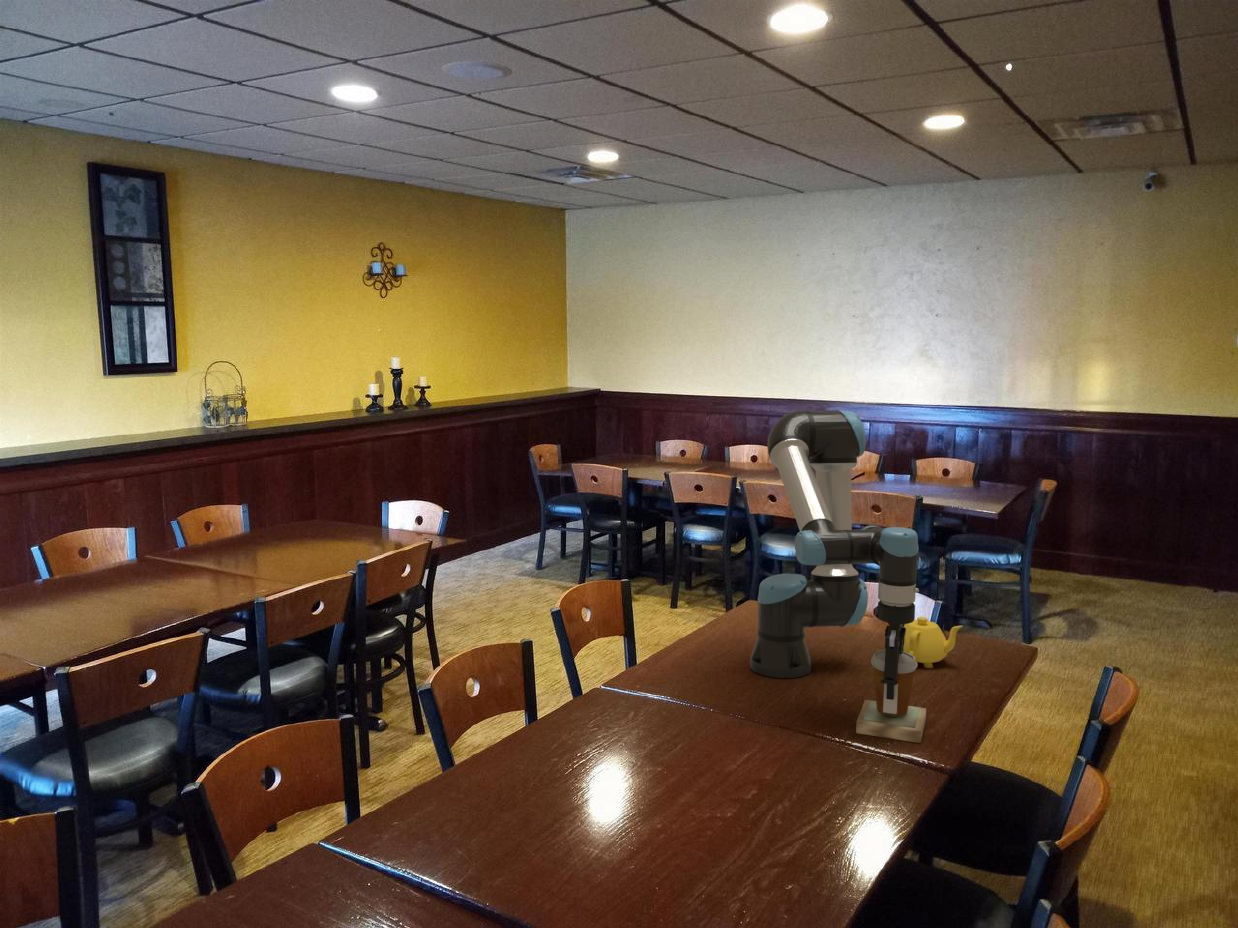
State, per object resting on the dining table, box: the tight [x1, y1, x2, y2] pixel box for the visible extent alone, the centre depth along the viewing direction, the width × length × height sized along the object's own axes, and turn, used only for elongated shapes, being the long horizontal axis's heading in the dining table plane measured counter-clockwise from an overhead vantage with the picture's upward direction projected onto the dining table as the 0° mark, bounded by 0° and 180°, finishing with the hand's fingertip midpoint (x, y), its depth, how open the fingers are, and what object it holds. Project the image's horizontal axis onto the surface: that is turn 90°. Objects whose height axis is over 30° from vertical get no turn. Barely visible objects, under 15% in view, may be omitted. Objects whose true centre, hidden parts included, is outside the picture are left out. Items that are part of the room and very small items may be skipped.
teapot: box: [904, 616, 963, 669], centre depth 239 cm, size 20×15×12 cm
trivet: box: [855, 699, 927, 744], centre depth 200 cm, size 13×13×3 cm
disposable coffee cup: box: [870, 649, 918, 716], centre depth 199 cm, size 10×10×12 cm
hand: (892, 704), depth 200 cm, fingers closed on disposable coffee cup, 8 cm apart
